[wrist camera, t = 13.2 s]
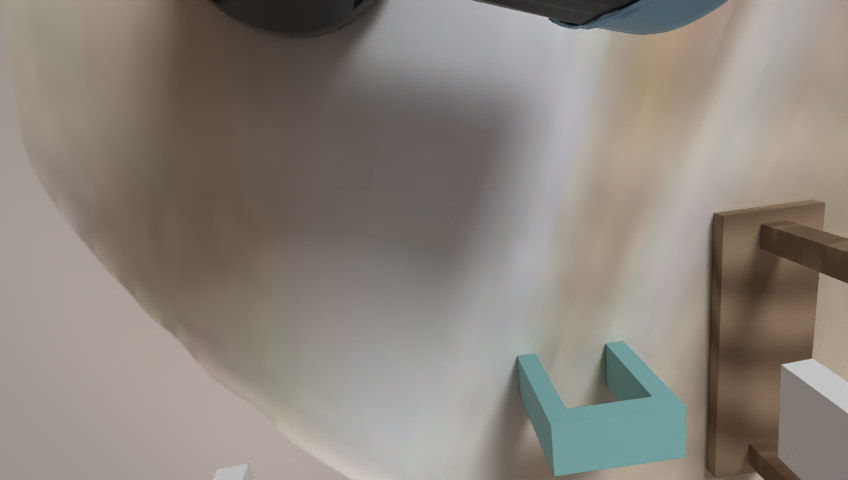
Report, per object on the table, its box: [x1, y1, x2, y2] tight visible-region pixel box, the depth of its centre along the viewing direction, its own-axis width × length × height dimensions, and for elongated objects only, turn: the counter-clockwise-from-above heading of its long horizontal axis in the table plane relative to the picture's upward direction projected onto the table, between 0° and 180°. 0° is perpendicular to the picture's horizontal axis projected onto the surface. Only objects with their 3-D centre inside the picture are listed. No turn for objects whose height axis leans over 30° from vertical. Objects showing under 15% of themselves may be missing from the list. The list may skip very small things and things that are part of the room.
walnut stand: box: [707, 200, 848, 480], centre depth 37 cm, size 24×8×13 cm, turn 7°
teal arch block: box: [517, 341, 686, 476], centre depth 39 cm, size 4×9×10 cm, turn 97°
